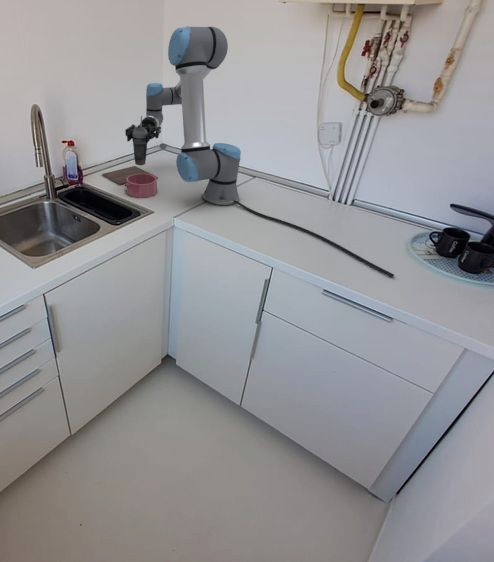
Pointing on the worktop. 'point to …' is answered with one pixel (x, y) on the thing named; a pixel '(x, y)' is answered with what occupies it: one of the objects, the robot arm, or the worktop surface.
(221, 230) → the worktop surface
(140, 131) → the beverage cup
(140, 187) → the pot
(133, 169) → the board
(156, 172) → the worktop surface
